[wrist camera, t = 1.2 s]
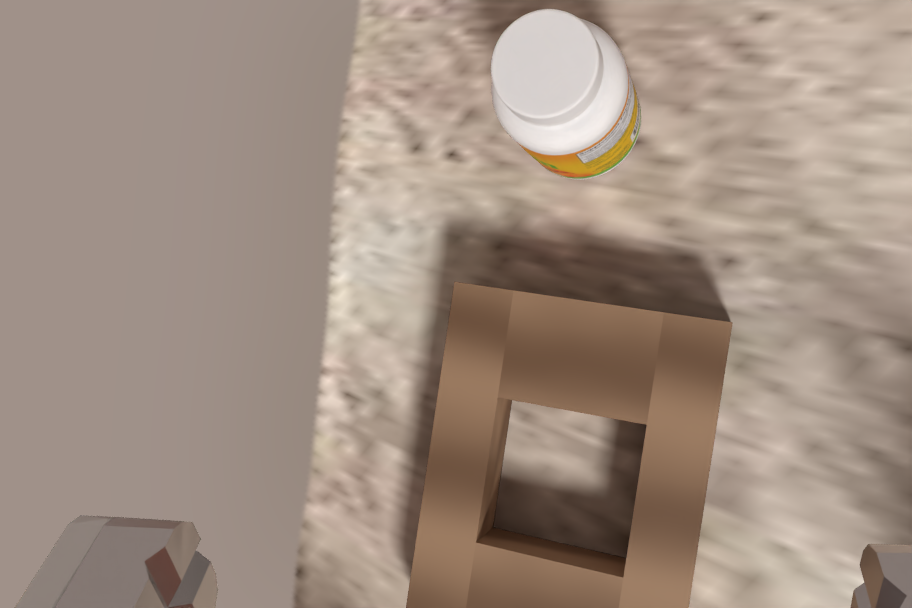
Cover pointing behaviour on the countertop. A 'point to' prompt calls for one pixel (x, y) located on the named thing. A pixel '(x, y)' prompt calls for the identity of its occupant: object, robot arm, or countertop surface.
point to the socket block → (581, 390)
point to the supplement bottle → (565, 93)
